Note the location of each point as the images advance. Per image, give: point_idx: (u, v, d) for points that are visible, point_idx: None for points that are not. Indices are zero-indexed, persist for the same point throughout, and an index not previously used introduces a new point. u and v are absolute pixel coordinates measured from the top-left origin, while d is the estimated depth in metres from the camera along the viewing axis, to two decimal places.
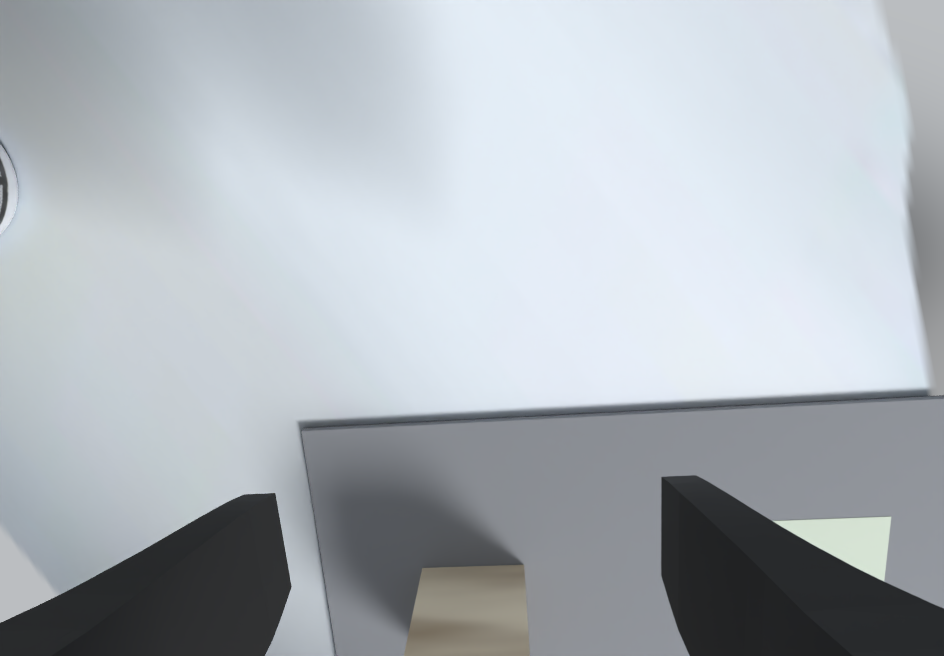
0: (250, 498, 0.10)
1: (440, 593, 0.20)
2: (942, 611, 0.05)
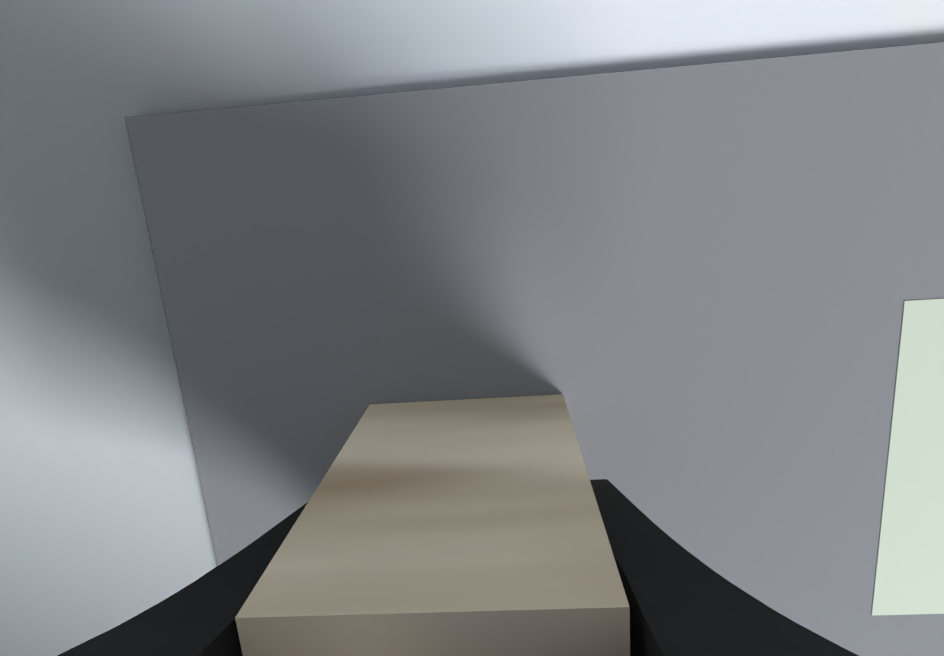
0: None
1: (398, 431, 0.10)
2: (776, 615, 0.05)
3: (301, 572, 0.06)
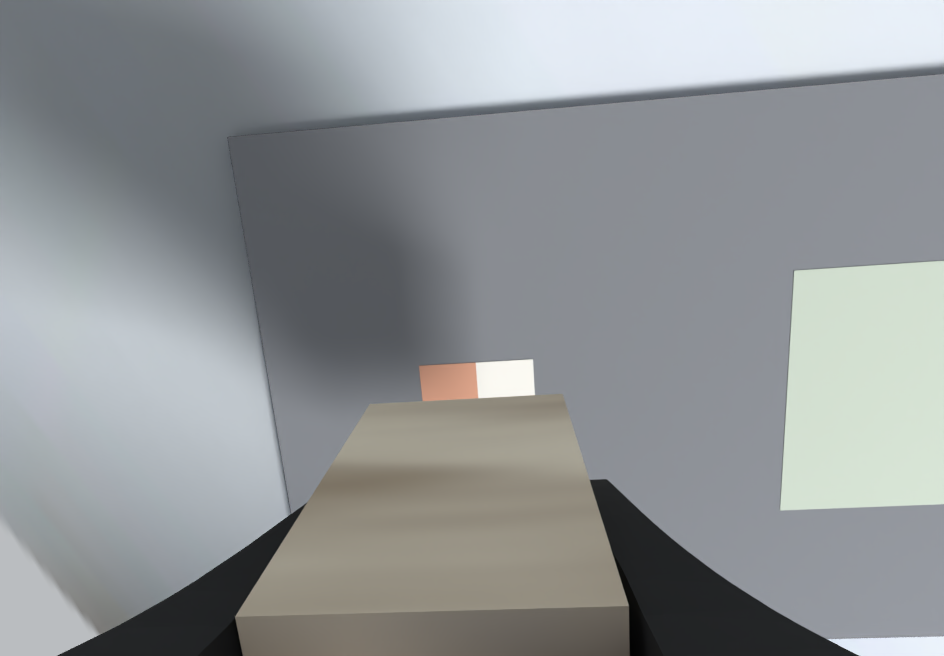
0: None
1: (398, 431, 0.10)
2: (776, 615, 0.05)
3: (301, 571, 0.06)
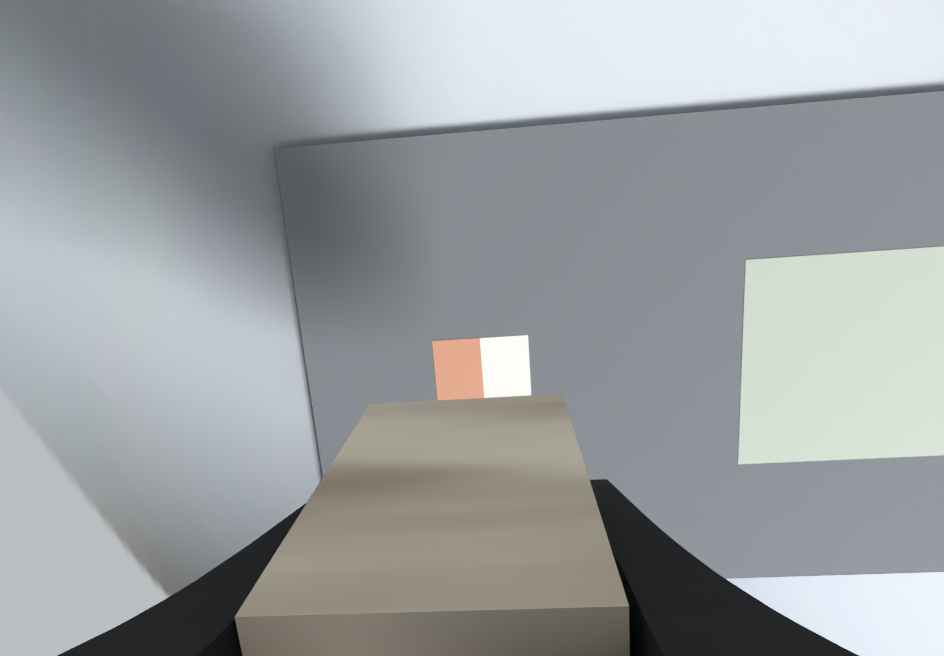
0: None
1: (398, 431, 0.10)
2: (776, 615, 0.05)
3: (301, 571, 0.06)
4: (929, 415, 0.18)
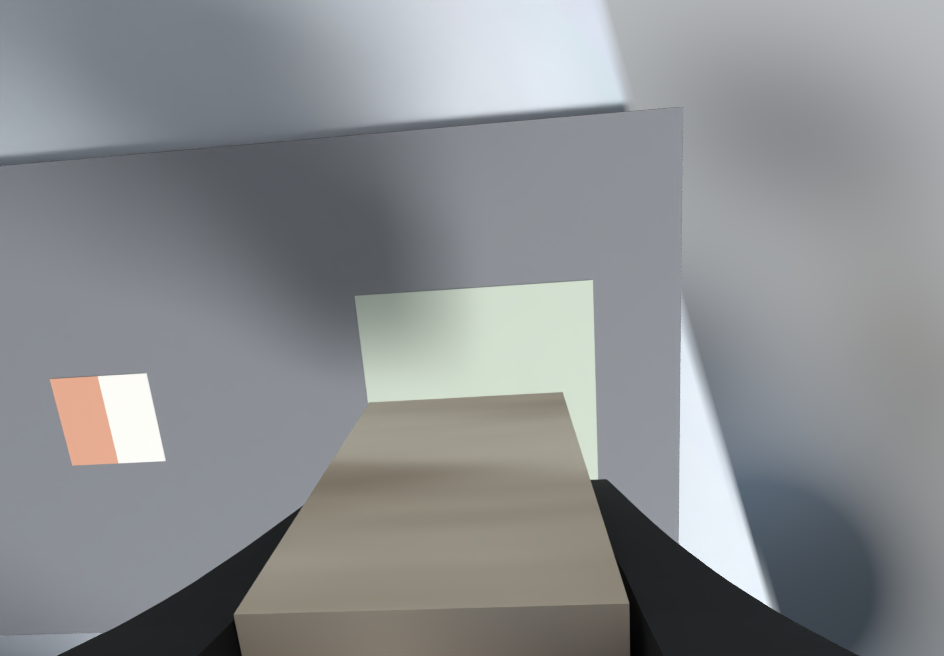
0: None
1: (398, 429, 0.10)
2: (776, 616, 0.05)
3: (300, 569, 0.06)
4: None
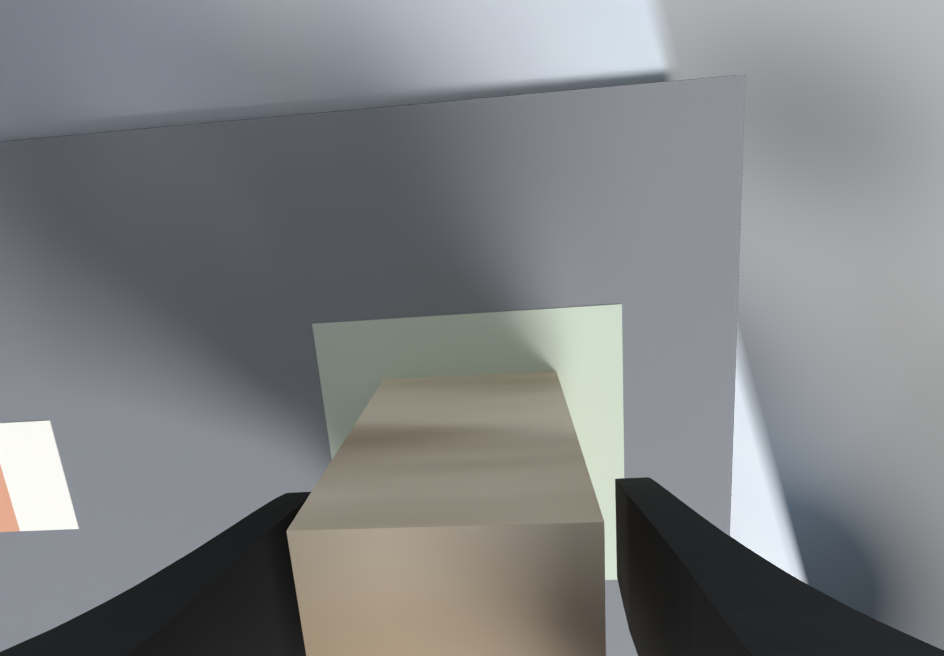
0: (294, 496, 0.10)
1: (411, 400, 0.11)
2: (855, 613, 0.05)
3: (336, 501, 0.08)
4: None
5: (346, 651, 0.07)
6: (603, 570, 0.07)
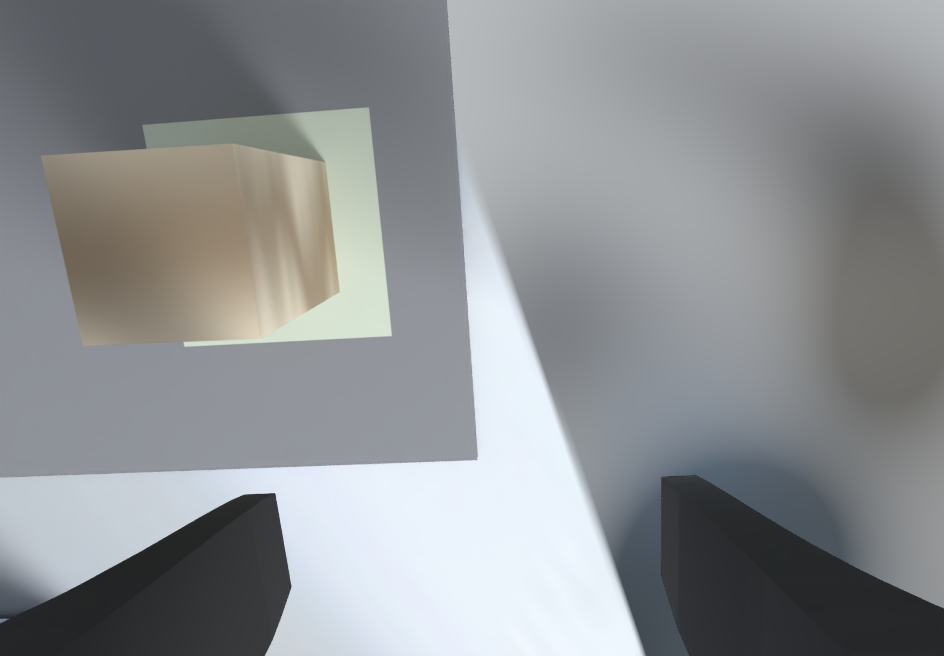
0: (250, 498, 0.10)
1: None
2: (942, 611, 0.05)
3: None
4: (358, 293, 0.18)
5: (86, 245, 0.12)
6: (236, 178, 0.11)
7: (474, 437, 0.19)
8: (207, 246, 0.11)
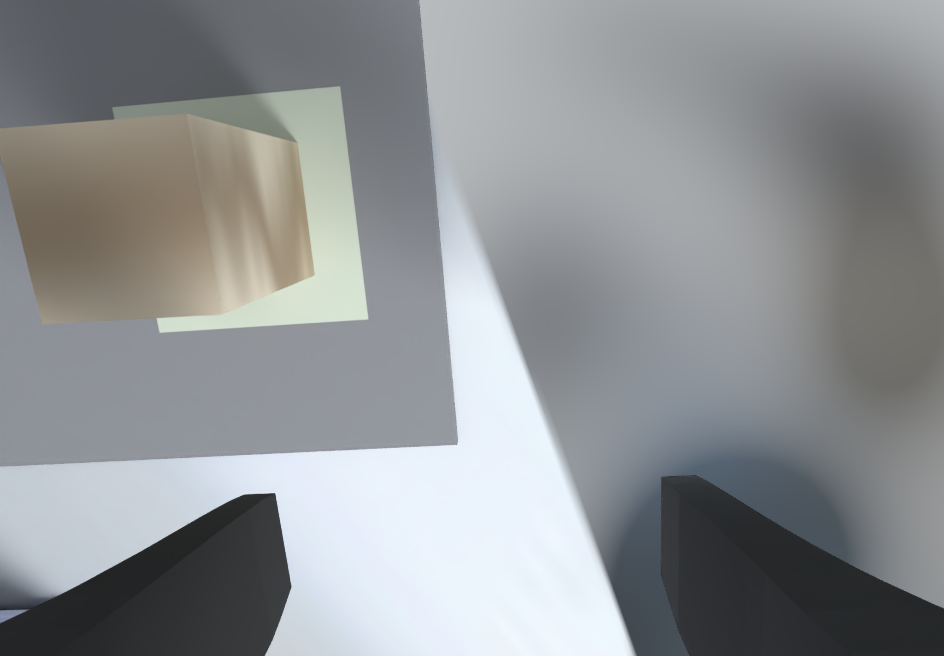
0: (250, 498, 0.10)
1: None
2: (942, 611, 0.05)
3: None
4: (333, 276, 0.17)
5: (42, 221, 0.11)
6: (192, 150, 0.11)
7: (453, 421, 0.18)
8: (165, 220, 0.11)
